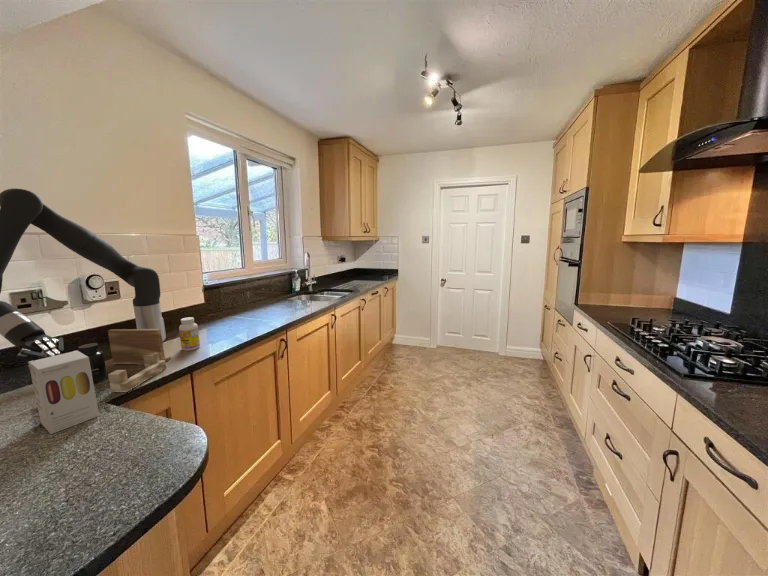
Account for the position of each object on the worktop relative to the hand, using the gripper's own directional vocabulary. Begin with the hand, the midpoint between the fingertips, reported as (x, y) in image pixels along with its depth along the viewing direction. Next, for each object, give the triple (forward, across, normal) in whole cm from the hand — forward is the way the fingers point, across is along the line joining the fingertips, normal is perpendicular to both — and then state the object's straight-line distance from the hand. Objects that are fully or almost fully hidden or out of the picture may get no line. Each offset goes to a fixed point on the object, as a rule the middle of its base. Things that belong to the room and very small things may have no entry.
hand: (64, 364), depth 102 cm
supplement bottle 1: (+10, 0, -2) cm, 10 cm away
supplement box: (+20, -22, -12) cm, 32 cm away
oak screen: (+13, +15, -6) cm, 21 cm away
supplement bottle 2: (+21, +28, -13) cm, 37 cm away
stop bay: (+21, 0, -13) cm, 25 cm away
